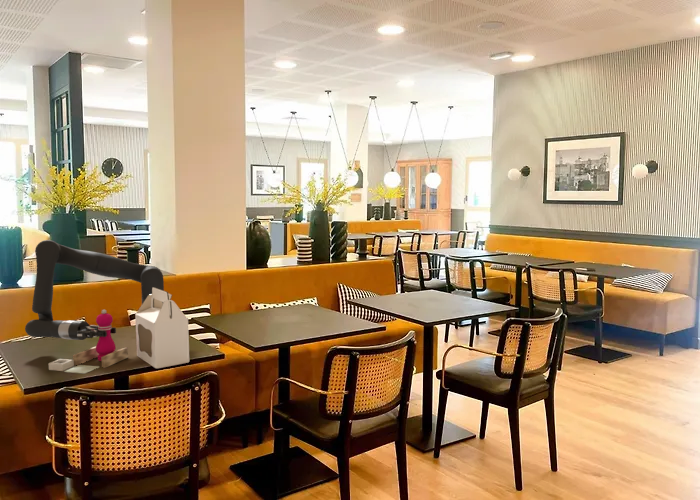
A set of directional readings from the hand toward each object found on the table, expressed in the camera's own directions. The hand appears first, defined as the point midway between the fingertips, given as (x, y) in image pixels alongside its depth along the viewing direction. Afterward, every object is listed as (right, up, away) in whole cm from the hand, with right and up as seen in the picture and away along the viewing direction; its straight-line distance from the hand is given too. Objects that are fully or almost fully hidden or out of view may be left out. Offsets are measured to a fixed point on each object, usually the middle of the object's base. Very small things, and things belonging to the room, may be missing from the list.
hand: (110, 332), depth 227 cm
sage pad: (-6, -12, -12) cm, 18 cm away
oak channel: (-3, -11, -1) cm, 12 cm away
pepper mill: (-2, -11, +2) cm, 11 cm away
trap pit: (-15, -12, -10) cm, 21 cm away
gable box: (+20, -11, +1) cm, 23 cm away
